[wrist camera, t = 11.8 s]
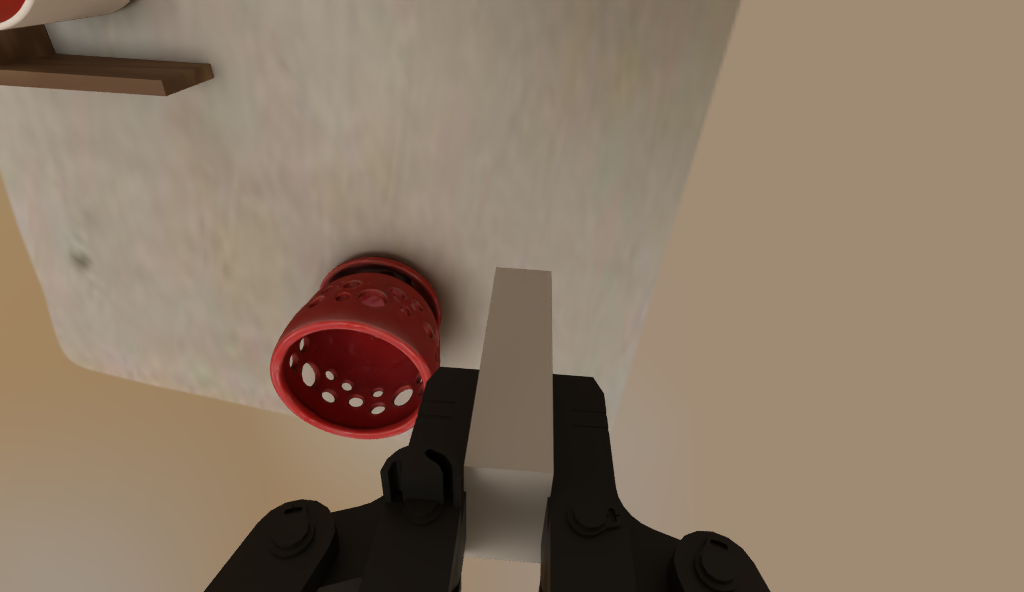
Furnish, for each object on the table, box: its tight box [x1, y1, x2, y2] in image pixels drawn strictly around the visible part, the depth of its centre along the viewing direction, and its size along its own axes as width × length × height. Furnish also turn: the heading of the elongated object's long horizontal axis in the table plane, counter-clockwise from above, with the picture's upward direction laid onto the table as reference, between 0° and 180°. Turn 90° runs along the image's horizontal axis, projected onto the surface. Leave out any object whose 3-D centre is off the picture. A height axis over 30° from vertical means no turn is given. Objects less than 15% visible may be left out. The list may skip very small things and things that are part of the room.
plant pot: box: [270, 257, 441, 439], centre depth 46 cm, size 13×13×12 cm
